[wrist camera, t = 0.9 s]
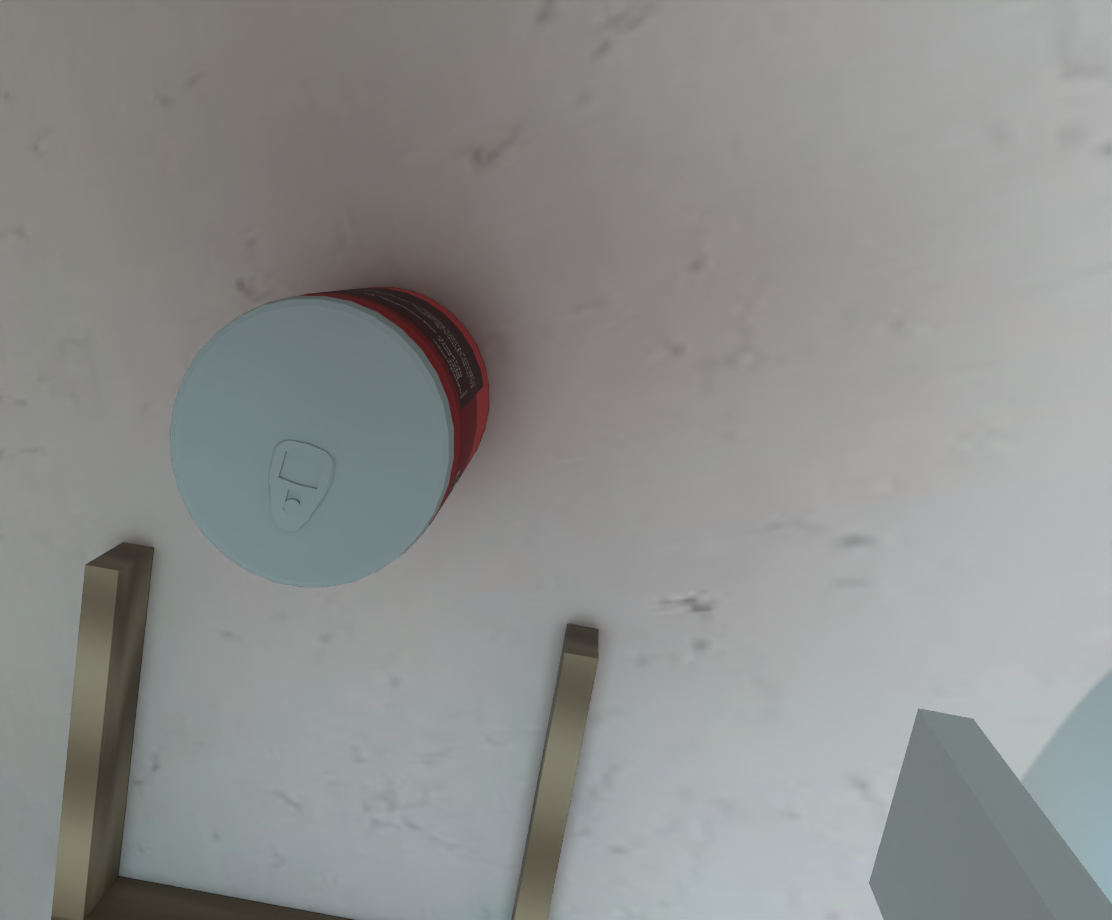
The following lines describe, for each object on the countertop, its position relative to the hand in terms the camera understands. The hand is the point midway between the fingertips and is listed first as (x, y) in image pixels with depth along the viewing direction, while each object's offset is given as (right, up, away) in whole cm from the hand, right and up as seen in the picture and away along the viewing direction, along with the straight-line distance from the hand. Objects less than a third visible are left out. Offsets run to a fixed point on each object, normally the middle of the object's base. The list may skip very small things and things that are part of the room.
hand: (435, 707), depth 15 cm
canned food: (-4, +6, +25) cm, 26 cm away
